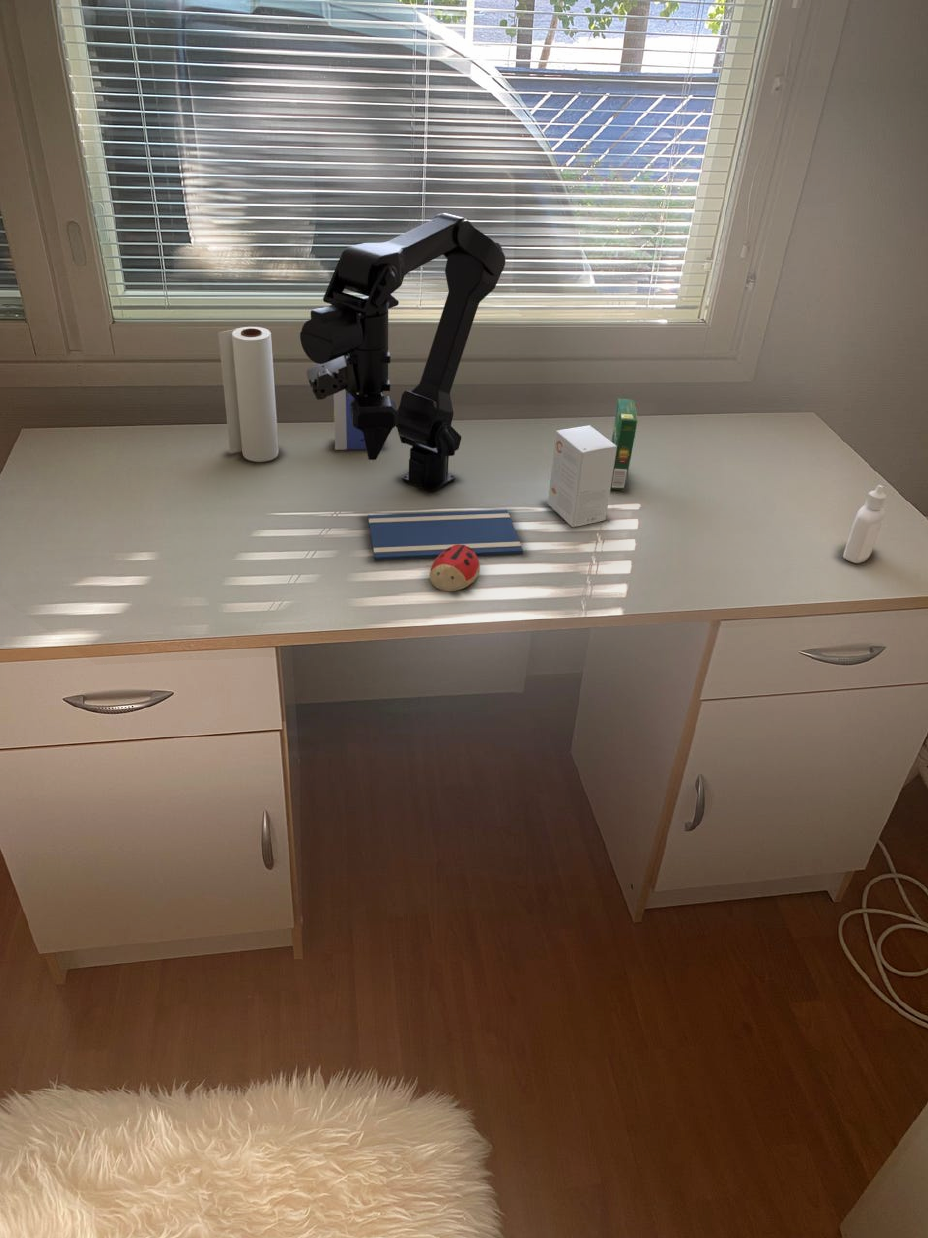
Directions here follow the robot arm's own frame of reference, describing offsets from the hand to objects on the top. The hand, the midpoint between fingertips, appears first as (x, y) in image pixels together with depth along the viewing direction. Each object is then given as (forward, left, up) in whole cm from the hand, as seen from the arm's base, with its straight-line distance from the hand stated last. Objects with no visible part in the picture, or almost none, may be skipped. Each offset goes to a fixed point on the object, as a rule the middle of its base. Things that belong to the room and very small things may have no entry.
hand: (368, 445), depth 144 cm
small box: (-23, +24, -12) cm, 35 cm away
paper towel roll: (-2, -27, -12) cm, 30 cm away
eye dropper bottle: (-42, +63, -12) cm, 76 cm away
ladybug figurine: (+5, +21, -12) cm, 24 cm away
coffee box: (-37, +23, -12) cm, 45 cm away
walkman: (-16, -17, -12) cm, 26 cm away
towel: (-3, +13, -12) cm, 18 cm away
